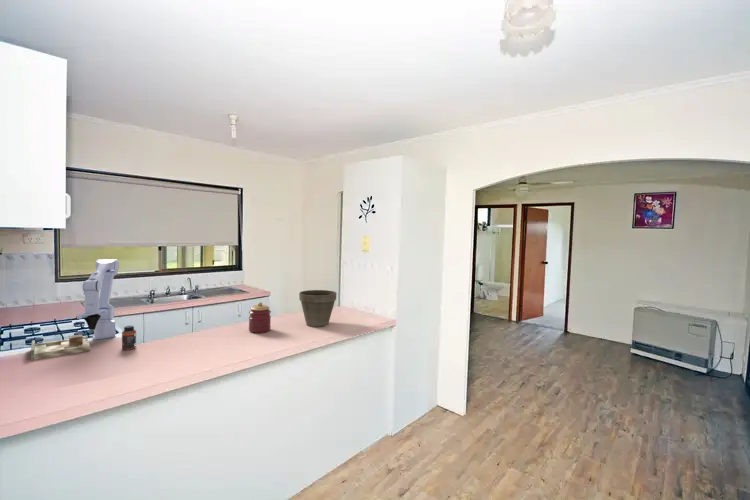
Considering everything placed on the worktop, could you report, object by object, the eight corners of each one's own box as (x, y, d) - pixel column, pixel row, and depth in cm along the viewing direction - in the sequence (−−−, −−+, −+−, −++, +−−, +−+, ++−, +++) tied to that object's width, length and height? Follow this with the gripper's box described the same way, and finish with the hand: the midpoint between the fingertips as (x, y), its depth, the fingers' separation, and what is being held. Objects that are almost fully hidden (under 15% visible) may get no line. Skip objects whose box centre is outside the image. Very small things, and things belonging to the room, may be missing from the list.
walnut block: (81, 341, 182) (81, 334, 182) (82, 344, 179) (82, 336, 178) (69, 343, 179) (68, 335, 179) (69, 346, 175) (69, 338, 175)
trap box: (87, 341, 189) (87, 333, 189) (90, 350, 176) (90, 341, 175) (32, 349, 175) (32, 340, 174) (31, 360, 161) (31, 350, 161)
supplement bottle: (139, 347, 183) (139, 325, 182) (127, 350, 177) (127, 328, 176) (130, 345, 185) (130, 324, 184) (119, 349, 179) (119, 327, 178)
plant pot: (304, 318, 253) (305, 288, 252) (339, 320, 250) (339, 290, 249) (293, 328, 228) (294, 294, 227) (331, 330, 226) (332, 296, 225)
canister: (266, 333, 213) (267, 304, 212) (245, 333, 213) (245, 304, 213) (273, 328, 226) (273, 300, 225) (253, 327, 226) (253, 300, 226)
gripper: (98, 300, 190) (98, 325, 191) (71, 305, 176) (71, 332, 176) (109, 301, 189) (109, 326, 190) (83, 306, 175) (83, 333, 175)
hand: (92, 329), depth 183 cm, fingers closed
